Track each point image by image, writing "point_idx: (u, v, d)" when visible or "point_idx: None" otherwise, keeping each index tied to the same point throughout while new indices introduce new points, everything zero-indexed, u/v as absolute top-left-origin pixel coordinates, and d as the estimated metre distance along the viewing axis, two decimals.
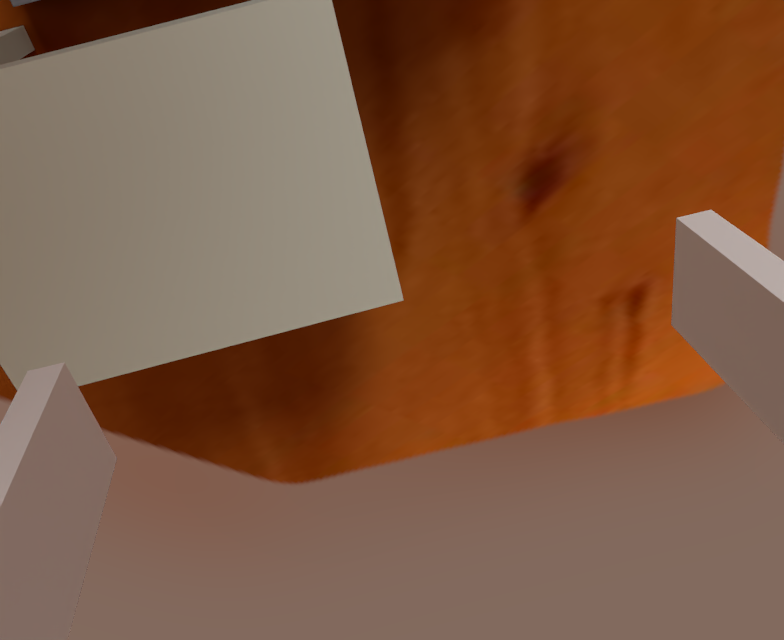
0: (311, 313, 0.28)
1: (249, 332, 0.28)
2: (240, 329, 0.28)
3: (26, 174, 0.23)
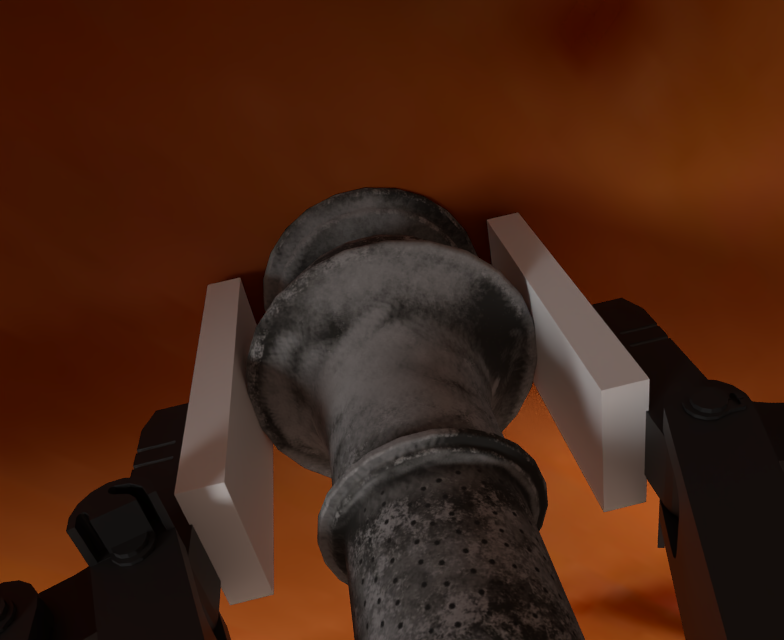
0: None
1: None
2: None
3: None
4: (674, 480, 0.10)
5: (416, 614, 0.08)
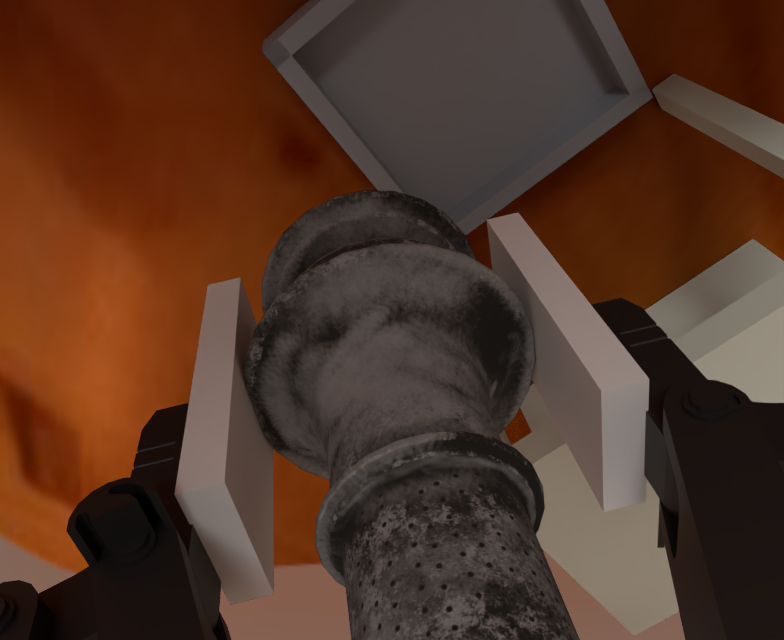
0: None
1: None
2: None
3: None
4: (674, 480, 0.10)
5: (414, 618, 0.08)
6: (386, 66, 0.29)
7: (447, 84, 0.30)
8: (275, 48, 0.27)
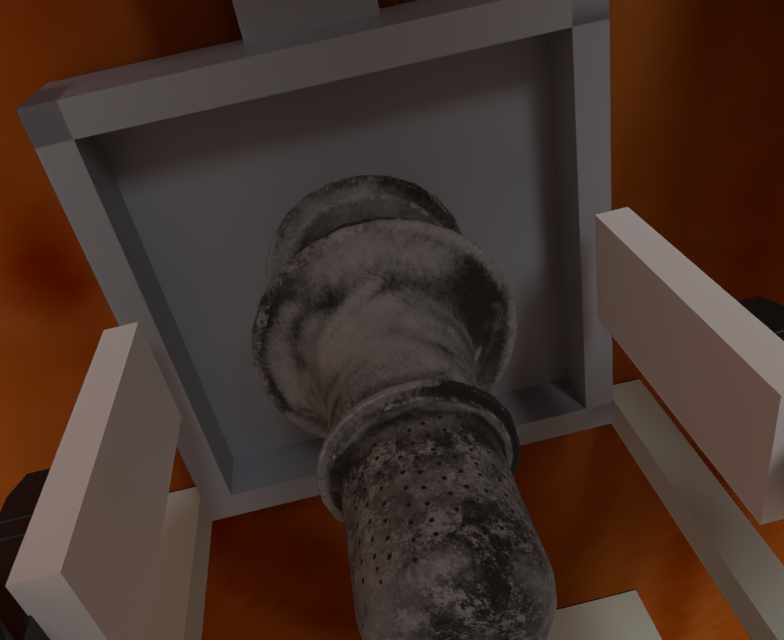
0: None
1: None
2: None
3: None
4: None
5: (401, 528, 0.09)
6: (249, 218, 0.17)
7: None
8: (45, 114, 0.14)
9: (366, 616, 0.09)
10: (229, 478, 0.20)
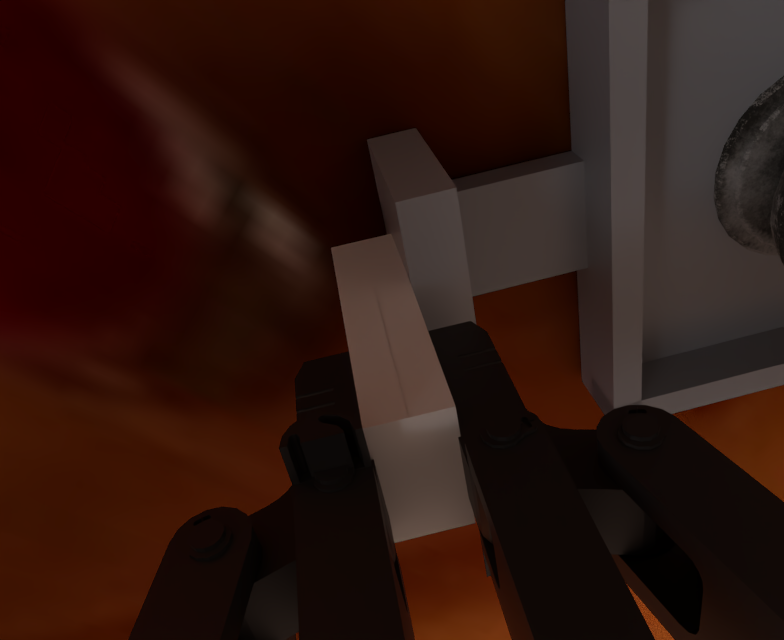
0: None
1: None
2: None
3: None
4: None
5: None
6: (723, 266, 0.19)
7: None
8: None
9: None
10: None
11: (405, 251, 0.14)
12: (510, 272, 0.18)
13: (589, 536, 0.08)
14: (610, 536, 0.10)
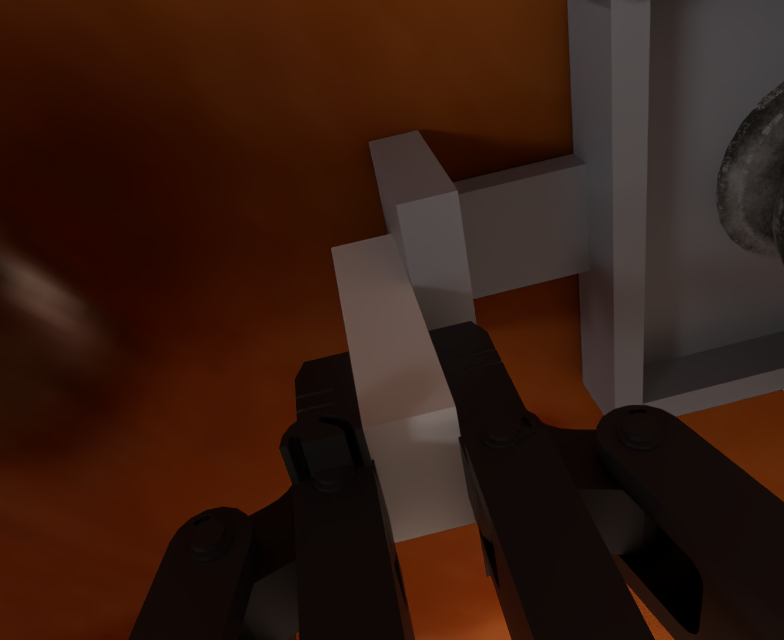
0: None
1: None
2: None
3: None
4: None
5: None
6: (726, 269, 0.19)
7: None
8: None
9: None
10: None
11: (406, 254, 0.14)
12: (511, 275, 0.18)
13: (589, 536, 0.08)
14: (609, 535, 0.10)
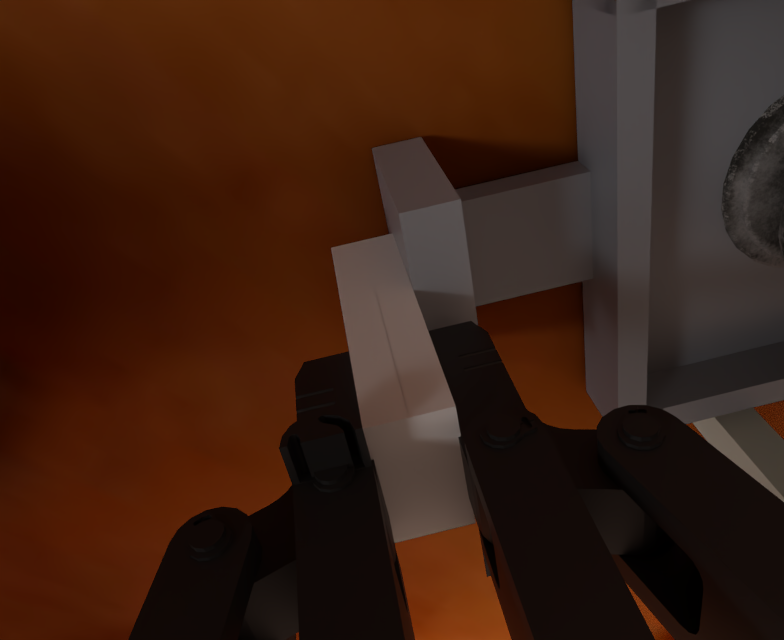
0: None
1: None
2: None
3: None
4: None
5: None
6: (731, 277, 0.19)
7: None
8: None
9: None
10: None
11: (408, 262, 0.13)
12: (515, 282, 0.18)
13: (589, 536, 0.08)
14: (610, 536, 0.10)
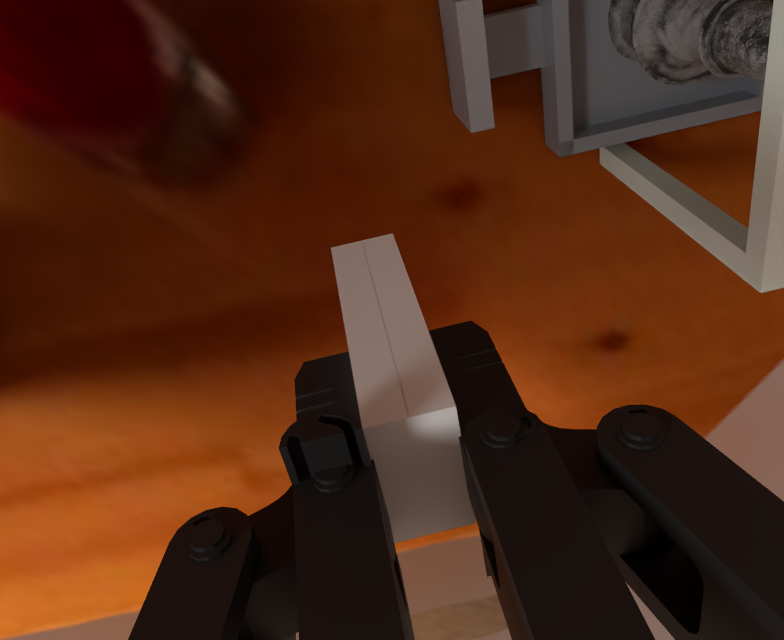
0: None
1: None
2: None
3: None
4: None
5: (741, 64, 0.27)
6: (617, 70, 0.37)
7: None
8: (563, 147, 0.37)
9: None
10: (750, 95, 0.37)
11: (458, 27, 0.31)
12: (505, 66, 0.36)
13: (589, 536, 0.08)
14: (609, 535, 0.10)
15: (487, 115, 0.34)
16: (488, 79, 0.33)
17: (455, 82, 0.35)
